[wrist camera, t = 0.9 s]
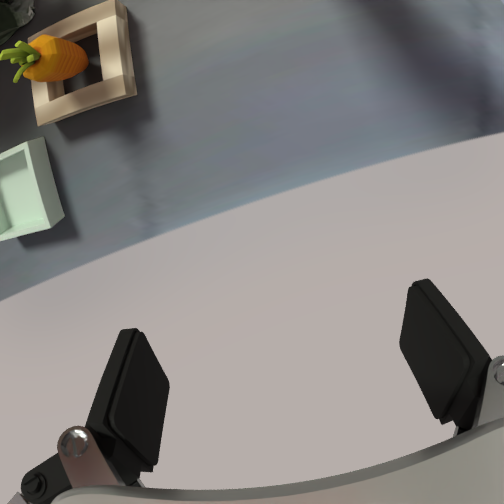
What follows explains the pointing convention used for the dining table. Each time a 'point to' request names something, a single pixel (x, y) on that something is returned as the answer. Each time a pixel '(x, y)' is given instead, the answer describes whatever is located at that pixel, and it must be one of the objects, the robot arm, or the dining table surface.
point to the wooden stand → (111, 55)
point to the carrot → (47, 59)
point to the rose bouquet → (14, 17)
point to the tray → (27, 190)
